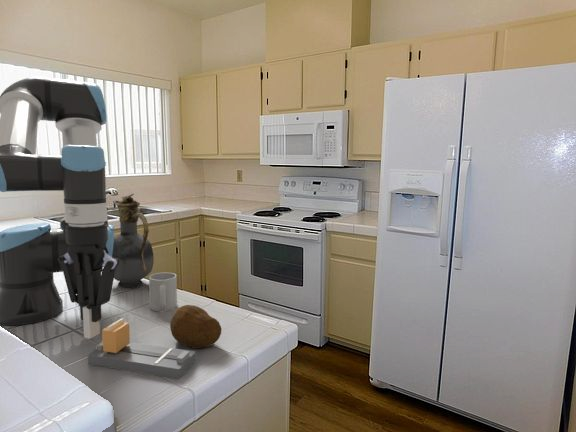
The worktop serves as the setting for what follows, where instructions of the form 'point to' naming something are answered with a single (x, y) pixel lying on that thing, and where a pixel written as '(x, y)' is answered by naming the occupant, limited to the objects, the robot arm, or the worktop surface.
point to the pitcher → (131, 246)
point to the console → (145, 359)
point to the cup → (163, 291)
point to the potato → (194, 327)
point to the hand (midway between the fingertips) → (91, 335)
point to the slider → (116, 336)
